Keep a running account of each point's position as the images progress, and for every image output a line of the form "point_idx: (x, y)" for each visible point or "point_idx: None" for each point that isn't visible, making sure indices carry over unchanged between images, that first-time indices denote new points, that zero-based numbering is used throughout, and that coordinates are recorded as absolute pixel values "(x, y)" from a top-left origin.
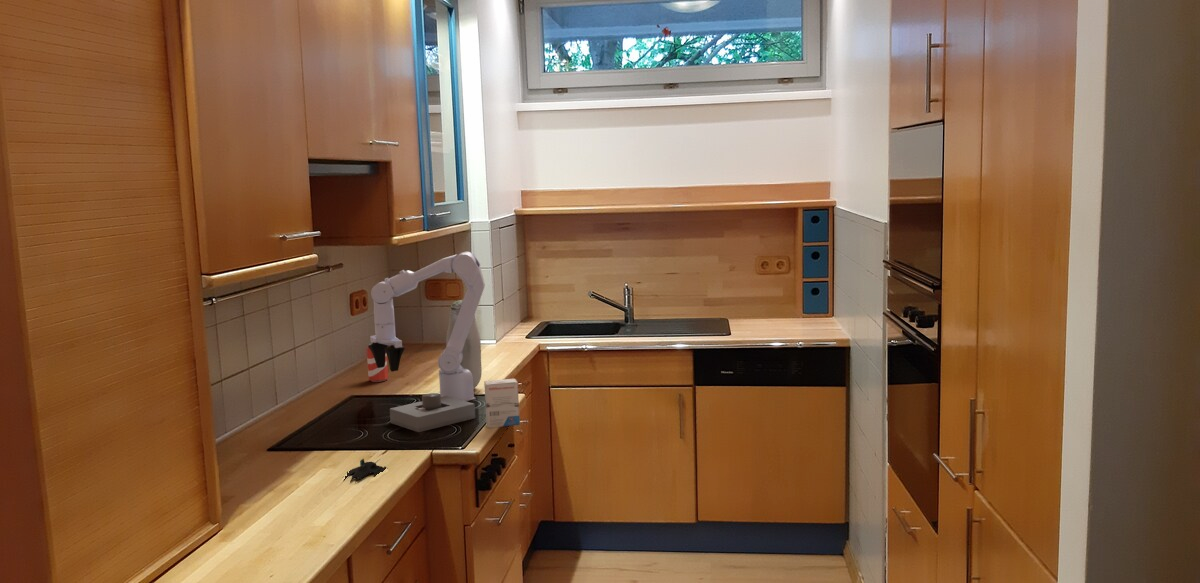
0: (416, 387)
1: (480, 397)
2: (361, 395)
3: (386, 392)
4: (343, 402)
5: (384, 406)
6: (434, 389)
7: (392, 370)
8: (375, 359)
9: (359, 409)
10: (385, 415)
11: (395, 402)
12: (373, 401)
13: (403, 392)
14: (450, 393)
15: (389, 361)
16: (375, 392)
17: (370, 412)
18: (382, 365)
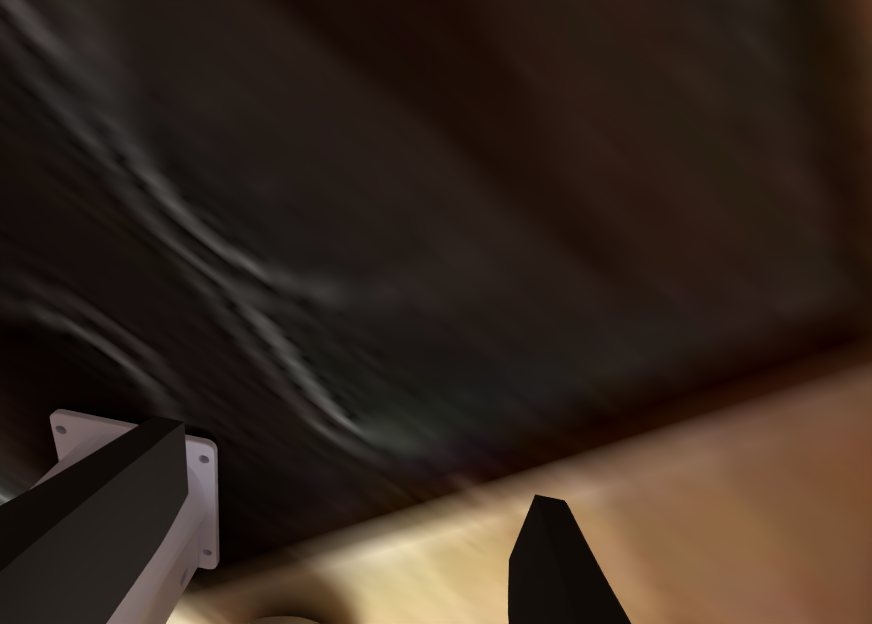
0: None
1: None
2: (822, 370)
3: (682, 482)
4: (846, 145)
5: (391, 217)
6: (449, 599)
7: (137, 428)
8: (599, 617)
9: (507, 33)
10: (130, 3)
11: (414, 332)
12: (593, 286)
13: None
14: (38, 481)
15: (15, 527)
16: (763, 459)
17: (328, 7)
18: (517, 562)
